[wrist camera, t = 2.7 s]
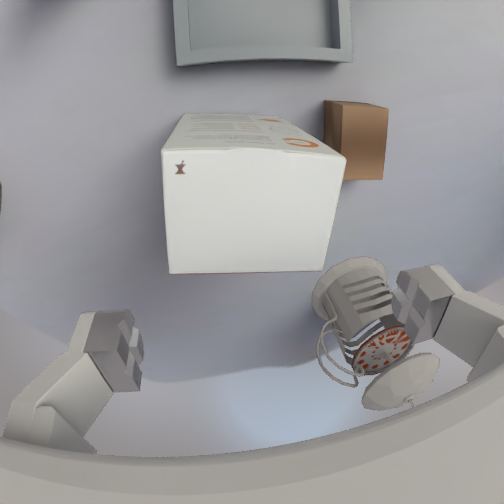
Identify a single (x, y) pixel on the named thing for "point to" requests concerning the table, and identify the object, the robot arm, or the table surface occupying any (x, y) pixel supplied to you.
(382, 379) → the french press
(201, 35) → the slate tray
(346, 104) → the walnut block
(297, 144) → the small box
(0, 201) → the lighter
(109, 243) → the table surface
